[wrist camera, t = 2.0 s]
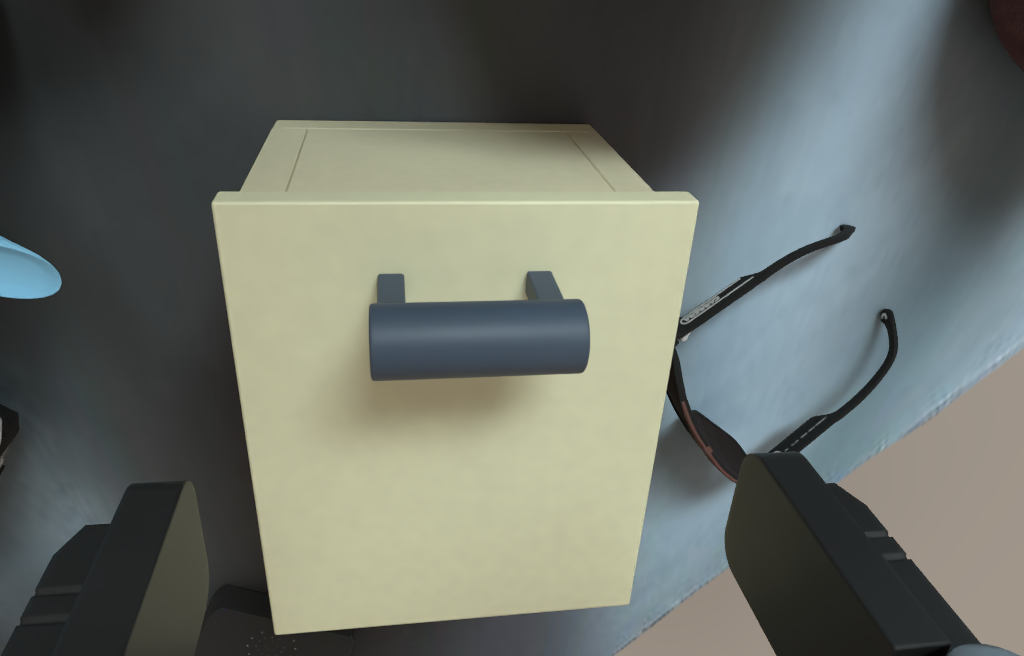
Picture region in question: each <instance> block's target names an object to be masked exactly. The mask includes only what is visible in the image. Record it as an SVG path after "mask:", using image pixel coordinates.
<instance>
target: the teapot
mask: <svg viewBox="0 0 1024 656" xmlns="http://www.w3.org/2000/svg"><path fill="white" fill-rule="evenodd" d="M61 283H62V281H61V278H60V274H59V272H58V271H57V270H56V269H55V268H54V266H53V265H52V264H50V263H49V262H48V261H46V260H45V259H43V258H42V257H41V256H39V255H37V254H36V253H34V252H32V251H30V250H28V249H26V248H24V247H22V246H20V245H18V244H16V243H13V242H11V241H10V240H8V239H6V238H4V237H2V236H0V297H7V298H17V299H33V298H43V297H46V296H50V295H53V294H54V293H56V292H57V291H58V290H59V289H60V286H61Z"/></svg>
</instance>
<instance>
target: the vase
mask: <svg viewBox="0 0 1024 656" xmlns="http://www.w3.org/2000/svg"><path fill="white" fill-rule="evenodd" d="M989 6H990V11H991V16H992V21H993V25H994V28H995V30H996V33H997V35H998V38H999V40H1000V42H1001V44H1002V45H1003V47H1004V48H1005V50H1006V51H1007V53H1008V54H1009V56H1010V57H1011V58H1012V60H1013V61H1014V62H1015V63H1016V64H1017V65H1018V66H1019V67H1020V68H1021V69H1022V70H1023V71H1024V0H989Z"/></svg>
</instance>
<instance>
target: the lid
mask: <svg viewBox="0 0 1024 656" xmlns="http://www.w3.org/2000/svg"><path fill="white" fill-rule="evenodd" d="M211 205H212V212H213V219H214V226H215V232H216V239H217V246H218V253H219V260H220V266H221V273H222V280H223V287H224V294H225V300H226V307H227V314H228V321H229V327H230V334H231V341H232V348H233V355H234V361H235V368H236V375H237V382H238V389H239V395H240V402H241V409H242V416H243V423H244V429H245V436H246V443H247V450H248V456H249V463H250V470H251V477H252V484H253V490H254V497H255V504H256V511H257V518H258V524H259V531H260V538H261V545H262V551H263V558H264V565H265V572H266V579H267V585H268V592H269V599H270V606H271V613H272V619H273V626H274V633H275V635H282V634H294V633H305V632H317V631H328V630H340V629H352V628H363V627H375V626H387V625H398V624H410V623H421V622H433V621H445V620H456V619H468V618H479V617H491V616H503V615H514V614H526V613H537V612H549V611H561V610H572V609H584V608H595V607H607V606H619V605H628V604H629V602H630V596H631V591H632V585H633V579H634V573H635V568H636V562H637V556H638V550H639V545H640V539H641V533H642V528H643V522H644V516H645V510H646V505H647V499H648V493H649V487H650V482H651V476H652V470H653V464H654V459H655V453H656V447H657V442H658V436H659V430H660V424H661V419H662V413H663V407H664V401H665V396H666V390H667V384H668V379H669V373H670V367H671V361H672V356H673V350H674V344H675V338H676V333H677V327H678V321H679V316H680V310H681V304H682V298H683V293H684V287H685V281H686V275H687V270H688V264H689V258H690V253H691V247H692V241H693V235H694V230H695V224H696V218H697V212H698V207H699V201H698V200H697V199H696V198H695V197H693V196H692V195H691V194H690V193H689V192H218V193H217V195H216V196H215V198H214V200H213V202H212V204H211Z"/></svg>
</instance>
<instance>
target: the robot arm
mask: <svg viewBox="0 0 1024 656" xmlns="http://www.w3.org/2000/svg"><path fill="white" fill-rule="evenodd" d="M725 551H726V556H727V560H728V564H729V567H730V569H731V571H732V573H733V575H734V577H735V579H736V581H737V583H738V585H739V587H740V588H741V590H742V592H743V594H744V596H745V598H746V599H747V601H748V603H749V605H750V607H751V609H752V611H753V612H754V614H755V616H756V618H757V620H758V622H759V624H760V626H761V627H762V629H763V631H764V633H765V635H766V637H767V639H768V641H769V642H770V644H771V646H772V648H773V650H774V652H775V654H776V655H777V656H1020V655H1017V654H1015V653H1013V652H1011V651H1008V650H1005V649H1003V648H1000V647H996V646H991V645H987V644H981V643H980V642H979V641H978V640H977V638H976V637H975V636H974V635H973V634H972V633H971V631H970V630H969V629H968V628H967V626H966V625H965V624H964V623H963V622H962V620H961V619H960V618H959V617H958V615H956V613H955V612H954V611H953V609H952V608H951V607H950V606H949V605H948V603H947V602H946V601H945V600H944V599H943V597H942V596H941V595H940V594H939V593H938V591H937V590H936V589H935V588H934V586H933V585H932V584H931V583H930V582H929V581H928V579H927V578H926V577H925V576H924V575H923V573H922V572H921V571H920V570H919V568H918V567H917V566H916V565H915V564H914V562H913V561H912V560H911V559H910V560H909V559H907V558H906V553H905V552H904V551H903V549H902V548H901V547H900V545H899V544H898V543H897V542H896V541H895V539H894V538H893V537H889V536H888V531H887V530H886V529H885V527H884V526H883V525H882V524H881V523H880V521H879V520H878V519H877V518H876V517H875V515H874V514H873V513H872V512H871V510H870V509H869V508H868V507H867V506H866V505H865V504H864V503H862V502H861V501H859V500H858V499H857V498H855V497H854V496H852V495H851V494H849V493H848V492H846V491H845V490H844V489H842V488H841V487H839V486H838V485H837V484H835V483H827V484H826V483H825V482H824V481H823V479H822V478H821V477H820V476H819V474H818V473H817V472H816V470H815V469H814V468H813V467H812V465H811V464H810V463H809V462H808V460H807V459H806V458H805V457H804V456H803V455H802V454H801V453H799V452H775V453H755V454H748V455H747V456H746V457H745V458H744V460H743V462H742V464H741V468H740V472H739V476H738V480H737V484H736V488H735V492H734V496H733V500H732V504H731V508H730V512H729V517H728V521H727V525H726V529H725ZM208 590H209V568H208V560H207V554H206V549H205V543H204V537H203V532H202V526H201V521H200V515H199V510H198V504H197V498H196V493H195V489H194V486H193V484H192V483H191V481H175V482H155V483H136V484H131V485H129V486H128V488H127V489H126V491H125V493H124V495H123V497H122V500H121V502H120V504H119V506H118V508H117V511H116V513H115V515H114V517H113V519H112V522H111V524H98V525H85V526H84V527H83V528H82V529H81V530H80V531H79V532H78V533H77V534H76V535H74V536H73V537H72V538H71V539H70V540H69V541H68V542H67V543H66V544H65V545H64V546H63V547H62V548H61V549H59V550H58V551H57V552H56V553H55V554H54V555H53V557H52V559H51V560H50V562H49V564H48V566H47V568H46V570H45V572H44V574H43V576H42V578H41V580H40V582H39V584H38V585H37V587H36V589H35V591H36V593H35V596H32V597H31V599H30V601H29V603H28V605H27V607H26V609H25V610H24V612H23V614H22V616H21V618H20V619H21V622H20V626H16V628H15V630H14V632H13V634H12V635H11V637H10V639H9V641H8V643H7V645H6V647H5V649H4V651H3V653H2V655H1V656H194V654H195V650H196V646H197V642H198V638H199V635H200V631H201V627H202V623H203V619H204V615H205V611H206V606H207V600H208Z"/></svg>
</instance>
